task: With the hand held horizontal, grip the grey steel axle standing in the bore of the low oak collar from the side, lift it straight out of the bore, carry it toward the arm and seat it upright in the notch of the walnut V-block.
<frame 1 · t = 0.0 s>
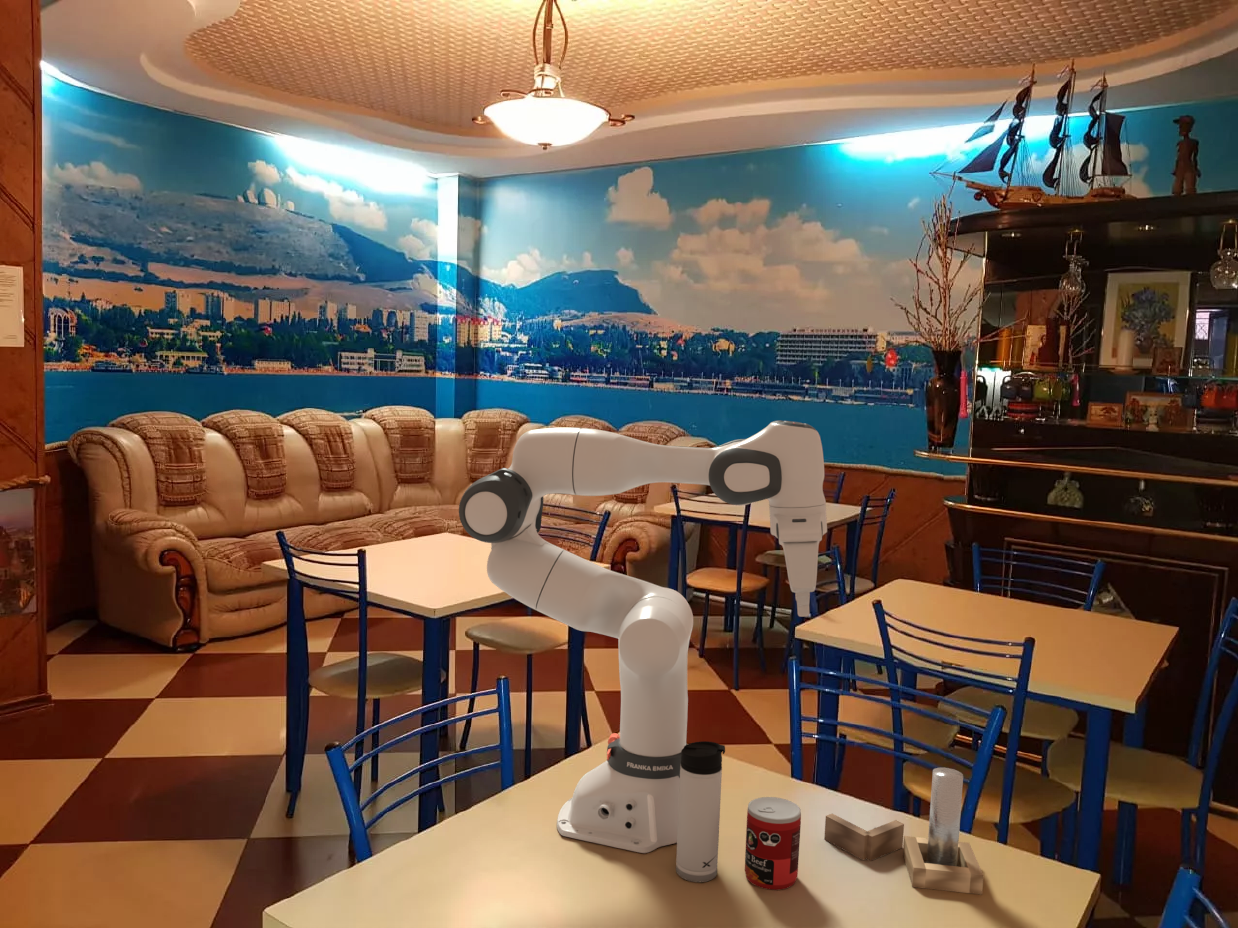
hand: (802, 608, 150), 39 cm above the table, tool pointing down, fingers open, 8 cm apart
canned food: (770, 878, 142), on the table
travel mug: (697, 873, 143), on the table
walnut V-block: (864, 849, 151), on the table
steel axle: (944, 823, 144), in the oak collar
oak collar: (940, 873, 145), on the table
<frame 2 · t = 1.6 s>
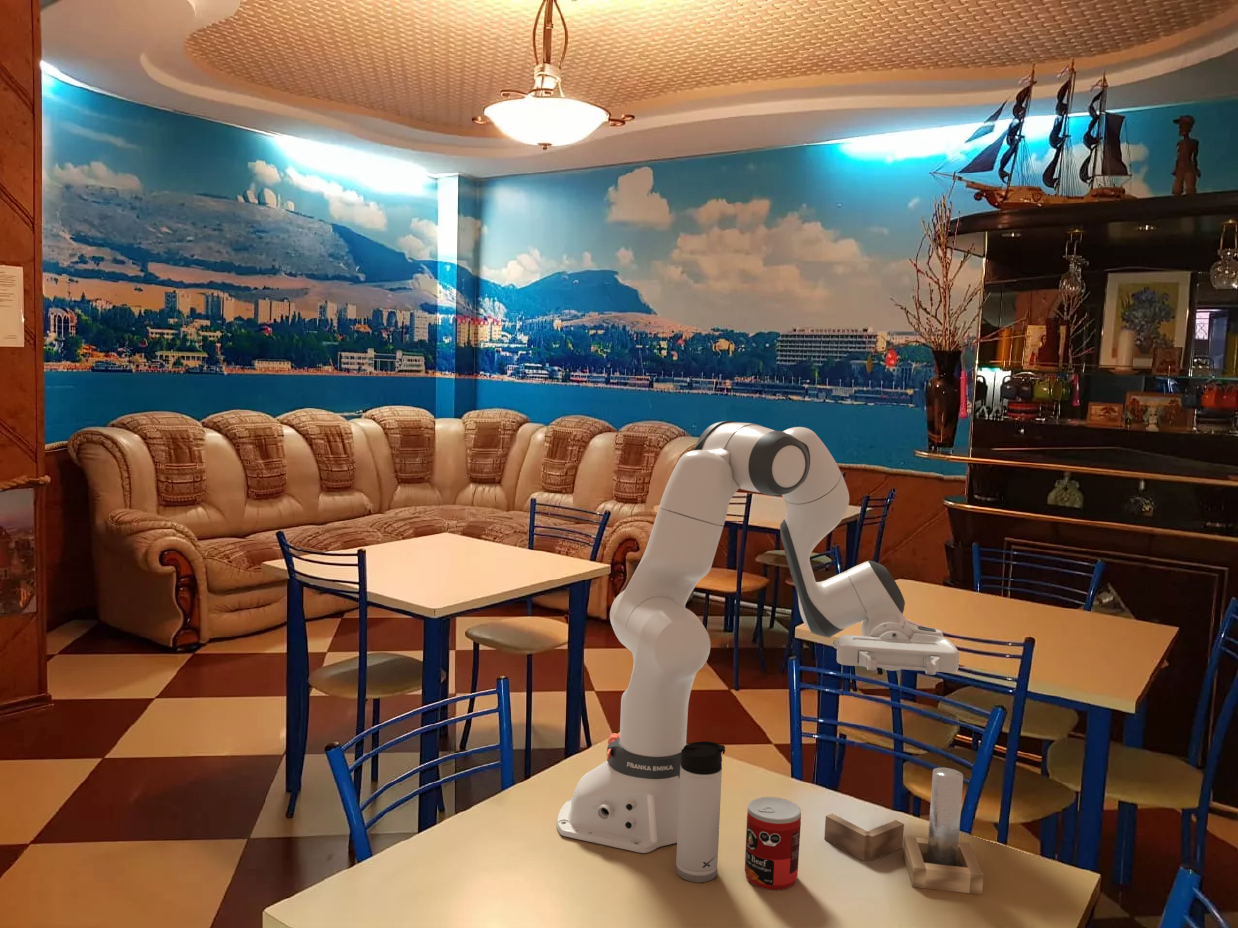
hand: (901, 667, 155), 28 cm above the table, tool horizontal, fingers open, 8 cm apart
nothing on the table moved.
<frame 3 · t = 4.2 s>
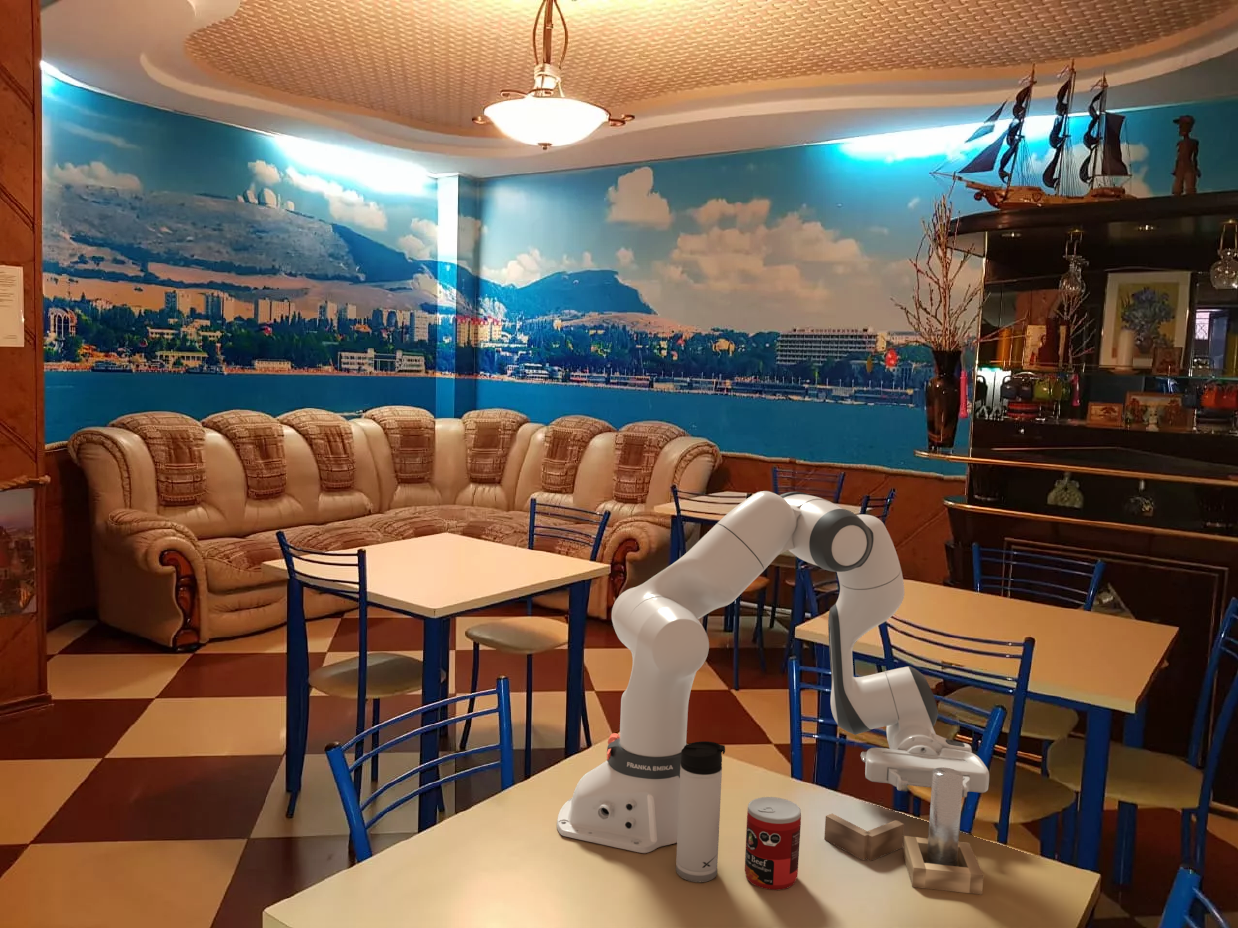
hand: (932, 789, 154), 9 cm above the table, tool horizontal, fingers open, 8 cm apart
nothing on the table moved.
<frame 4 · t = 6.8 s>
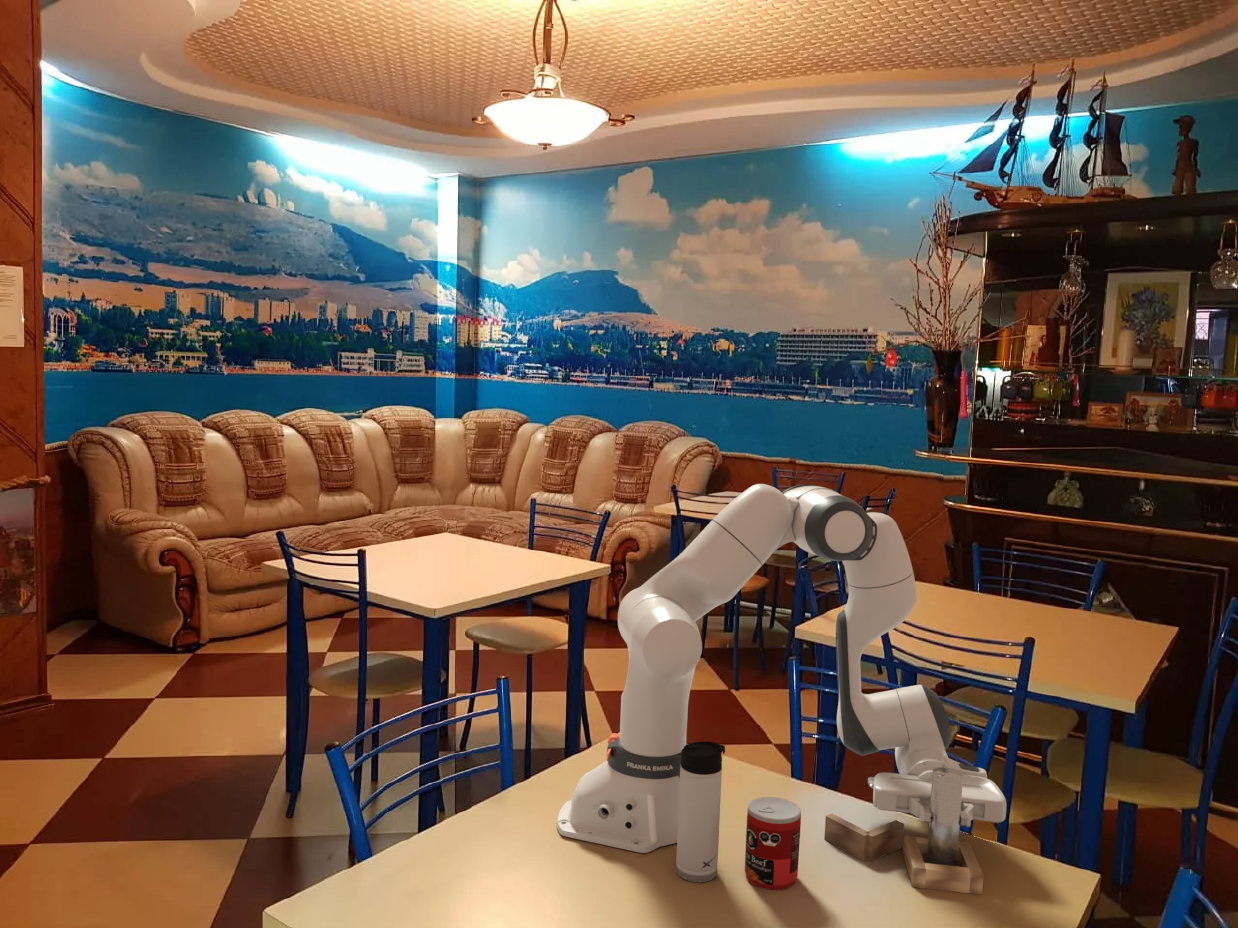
hand: (945, 819, 143), 9 cm above the table, tool horizontal, fingers closed on steel axle, 4 cm apart
steel axle: (944, 823, 144), in the oak collar, touching gripper
everything else where it was.
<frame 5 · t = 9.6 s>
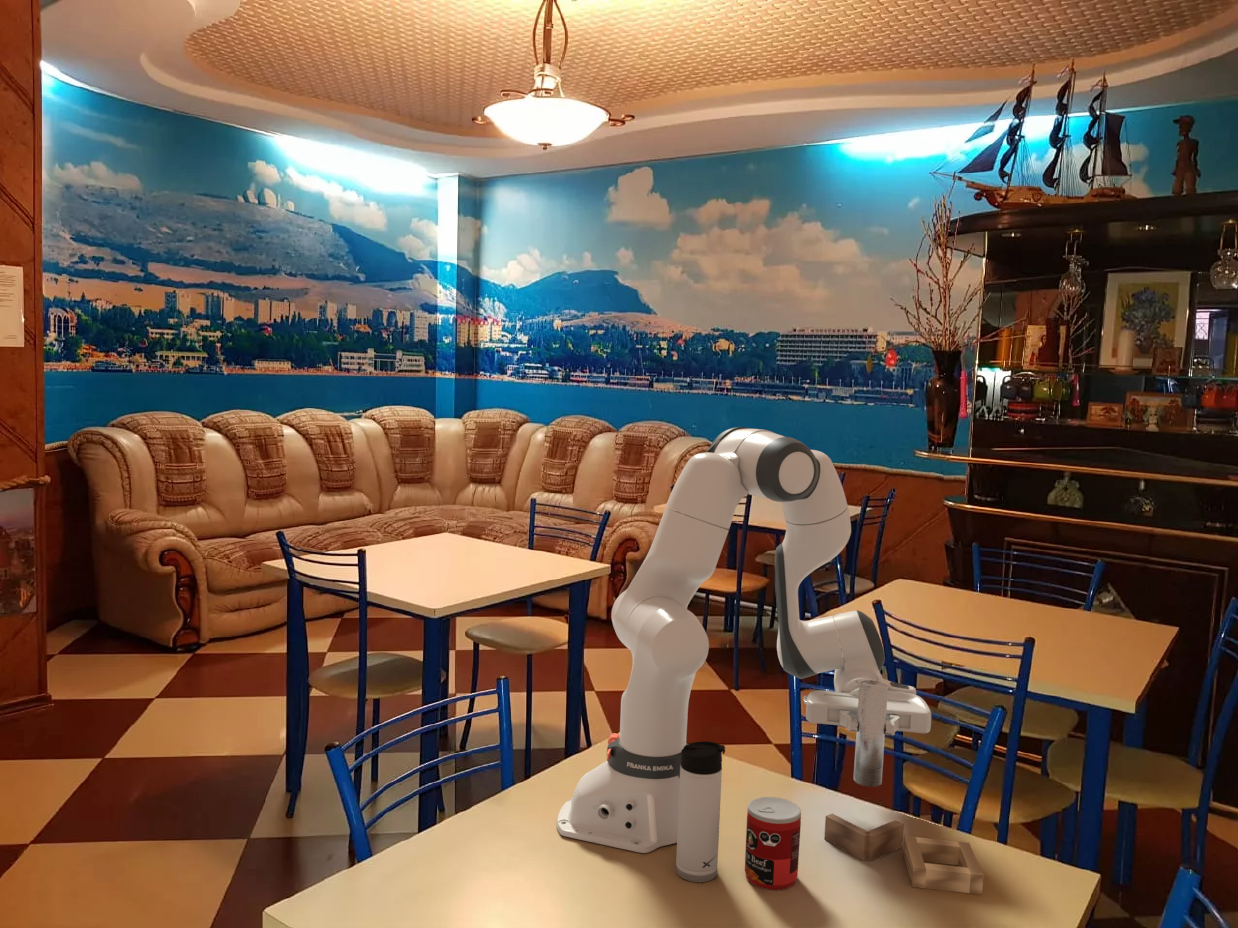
hand: (871, 728, 150), 20 cm above the table, tool horizontal, fingers closed on steel axle, 4 cm apart
steel axle: (870, 732, 151), point 19 cm above the table, touching gripper
everything else where it was.
when the fingers open (10 cm above the table, at t = 12.4 s): steel axle stays where it is, on the table.
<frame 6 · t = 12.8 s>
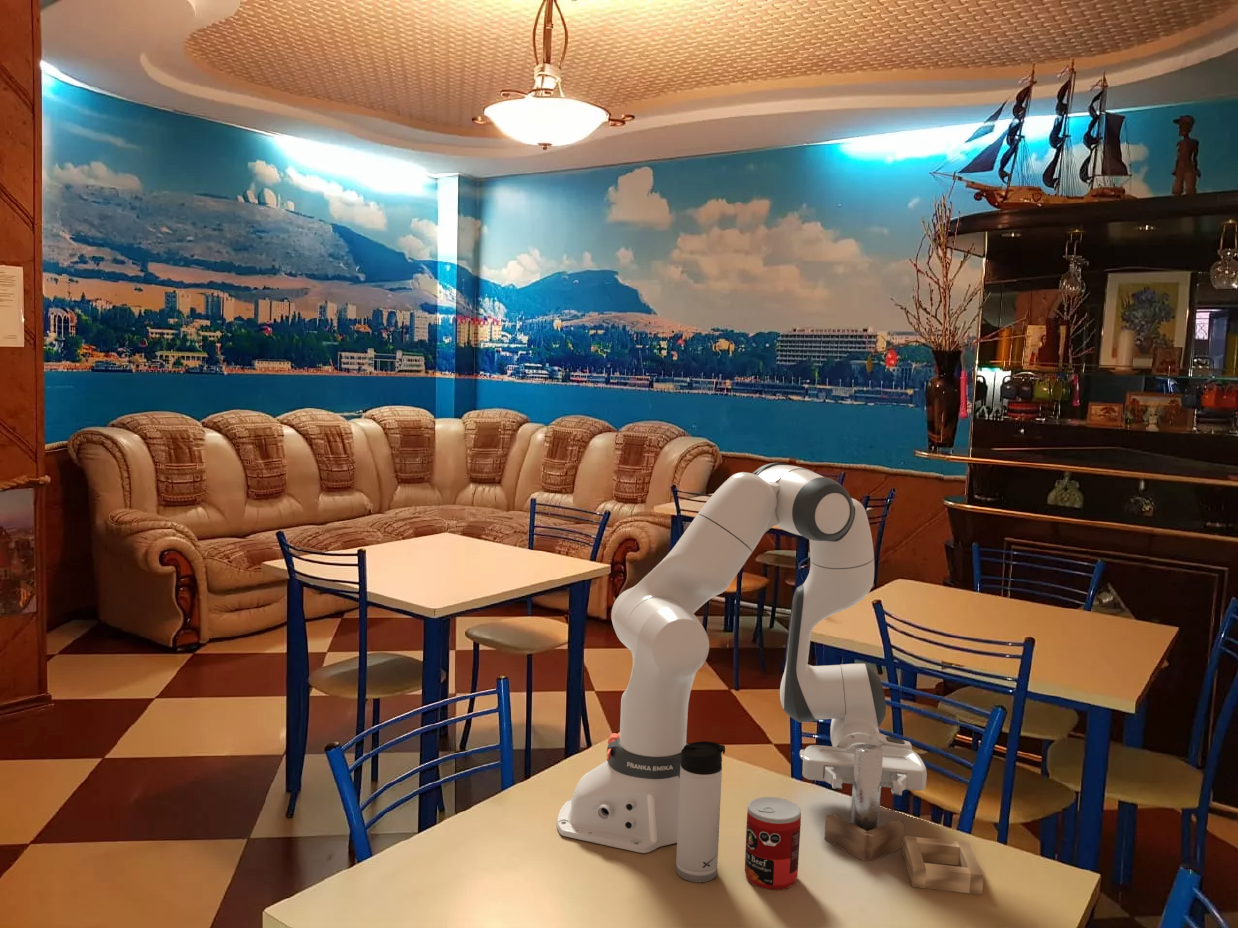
hand: (867, 787, 151), 10 cm above the table, tool horizontal, fingers open, 8 cm apart
steel axle: (866, 796, 153), on the table
everything else where it was.
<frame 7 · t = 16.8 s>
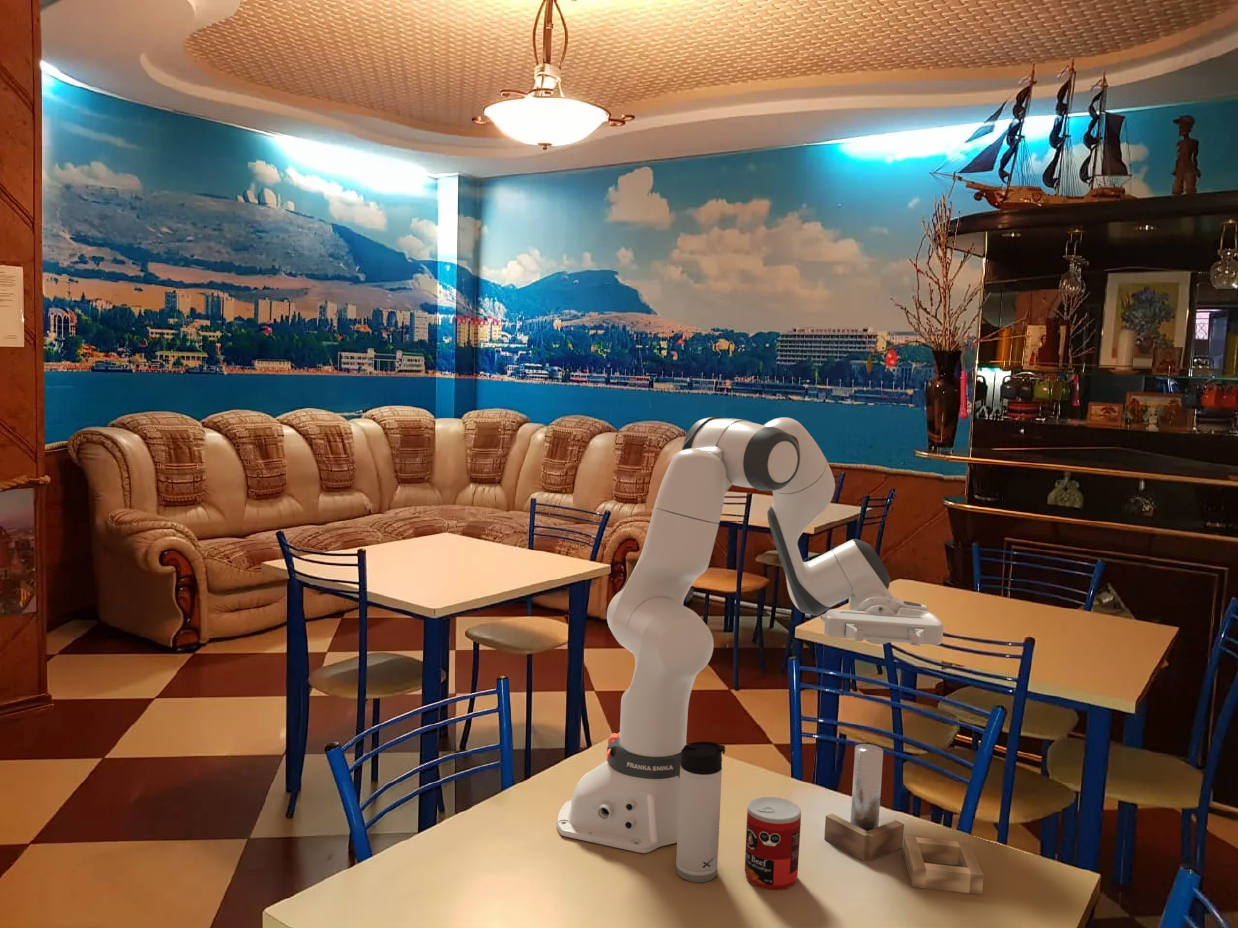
hand: (887, 638, 159), 32 cm above the table, tool horizontal, fingers open, 8 cm apart
nothing on the table moved.
at the end: steel axle 0.1 cm from the target spot, on the table; steel axle tilted 0°; the gripper is holding nothing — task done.
